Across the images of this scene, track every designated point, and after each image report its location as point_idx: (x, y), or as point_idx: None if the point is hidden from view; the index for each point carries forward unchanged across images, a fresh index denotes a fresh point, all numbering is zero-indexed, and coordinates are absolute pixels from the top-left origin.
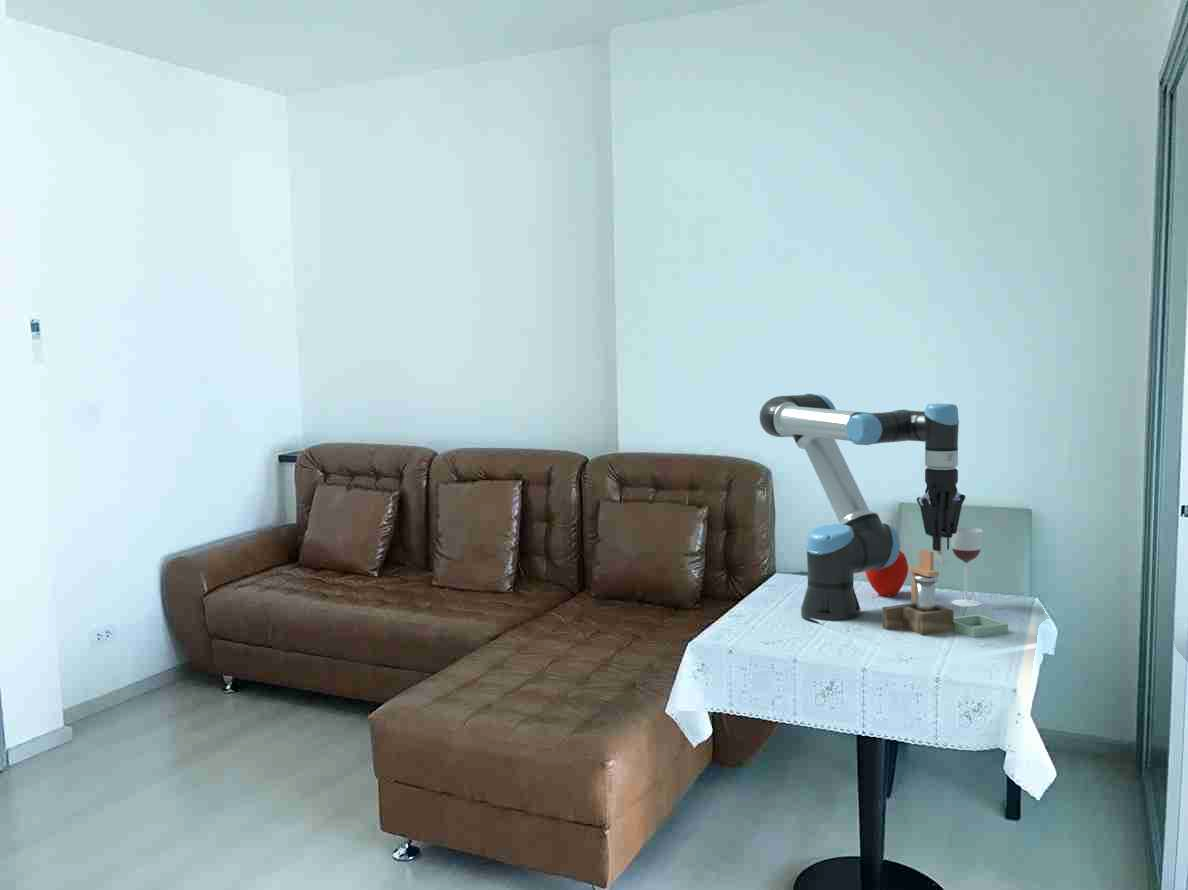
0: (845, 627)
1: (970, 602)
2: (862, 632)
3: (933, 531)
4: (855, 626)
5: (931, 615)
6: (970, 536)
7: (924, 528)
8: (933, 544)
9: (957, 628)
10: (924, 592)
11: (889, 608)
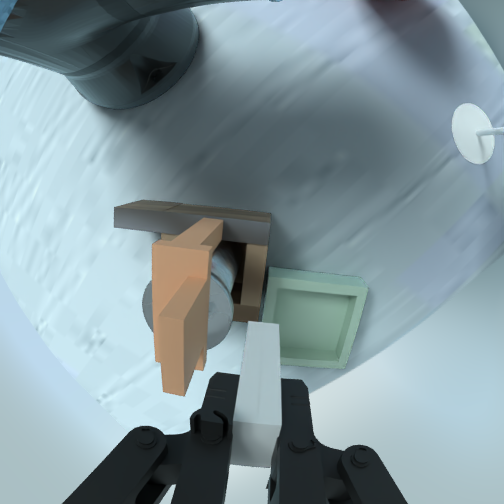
0: (103, 132)
1: (477, 145)
2: (108, 180)
3: (148, 488)
4: (123, 134)
5: None
6: None
7: (108, 455)
8: (205, 400)
9: (263, 311)
10: None
11: (120, 227)
